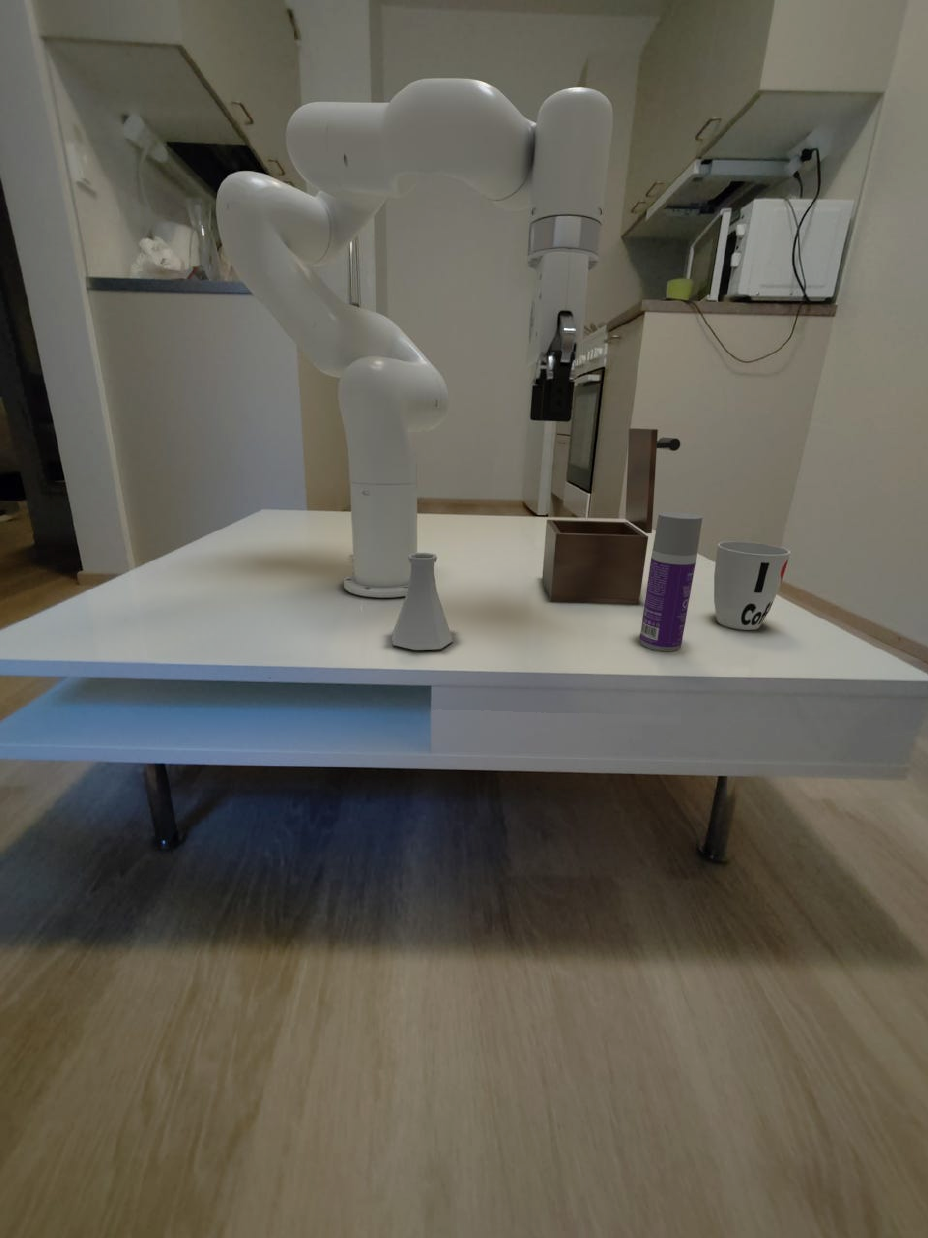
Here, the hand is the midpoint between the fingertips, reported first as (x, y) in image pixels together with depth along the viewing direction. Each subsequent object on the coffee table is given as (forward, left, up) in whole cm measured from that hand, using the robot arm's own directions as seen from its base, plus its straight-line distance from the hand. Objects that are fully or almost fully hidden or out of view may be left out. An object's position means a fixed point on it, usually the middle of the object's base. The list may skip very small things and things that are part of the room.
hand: (548, 420), depth 64 cm
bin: (-3, +15, -24) cm, 29 cm away
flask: (-2, -17, -24) cm, 30 cm away
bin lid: (0, +19, -7) cm, 21 cm away
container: (+15, +5, -24) cm, 29 cm away
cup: (+17, +20, -24) cm, 36 cm away
